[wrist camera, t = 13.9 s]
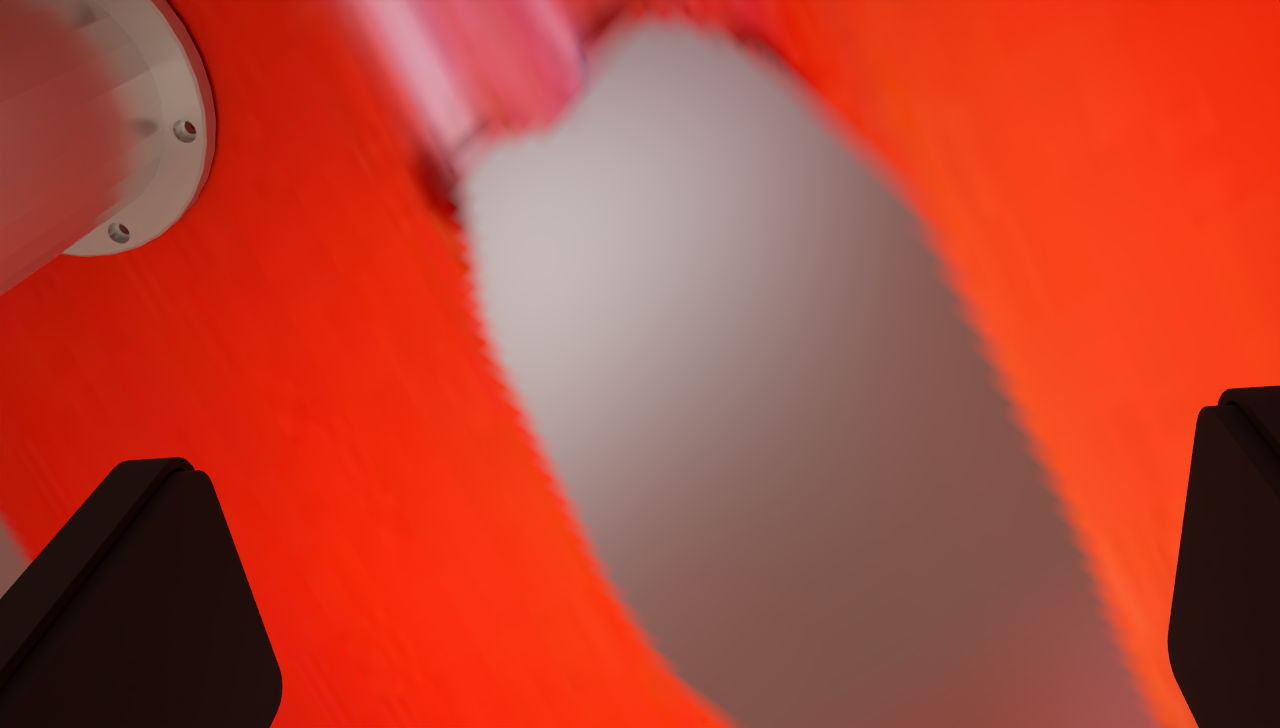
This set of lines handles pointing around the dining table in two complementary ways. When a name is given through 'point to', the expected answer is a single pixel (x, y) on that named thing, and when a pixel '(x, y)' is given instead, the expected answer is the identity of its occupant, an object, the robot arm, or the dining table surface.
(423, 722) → the dining table surface
